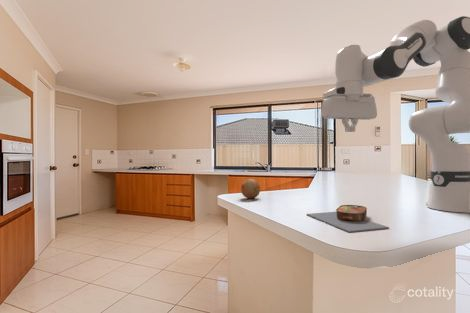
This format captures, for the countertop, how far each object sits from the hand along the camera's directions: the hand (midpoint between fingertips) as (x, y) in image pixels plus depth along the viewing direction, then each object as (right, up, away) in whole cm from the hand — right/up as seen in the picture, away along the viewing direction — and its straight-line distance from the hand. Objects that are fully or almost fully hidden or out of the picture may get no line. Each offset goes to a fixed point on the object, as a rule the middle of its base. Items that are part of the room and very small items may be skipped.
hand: (350, 131), depth 88 cm
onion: (-33, -30, +39) cm, 59 cm away
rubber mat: (-7, -29, -9) cm, 31 cm away
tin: (+2, -28, -7) cm, 29 cm away
